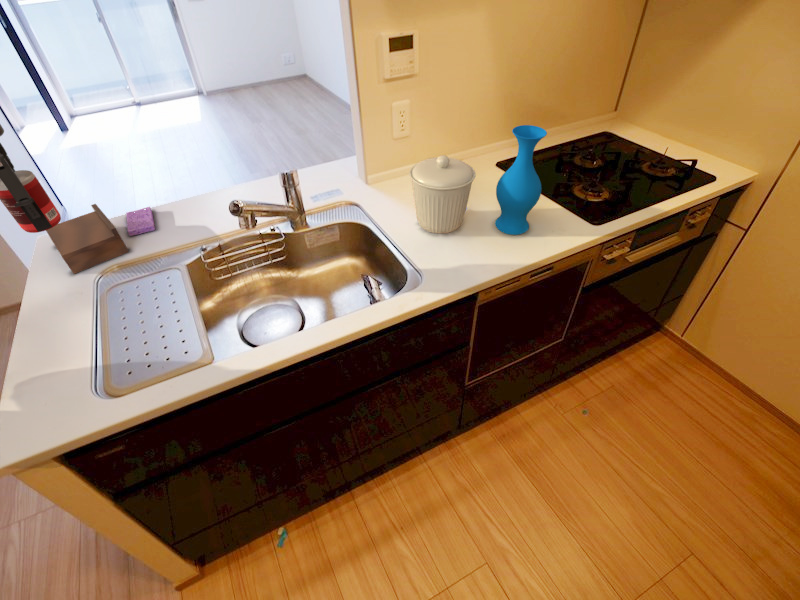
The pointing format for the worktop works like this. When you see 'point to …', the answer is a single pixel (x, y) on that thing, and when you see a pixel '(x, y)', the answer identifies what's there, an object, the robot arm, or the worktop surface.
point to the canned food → (35, 192)
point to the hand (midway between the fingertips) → (40, 221)
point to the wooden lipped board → (87, 240)
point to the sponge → (140, 221)
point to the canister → (441, 192)
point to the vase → (519, 183)
